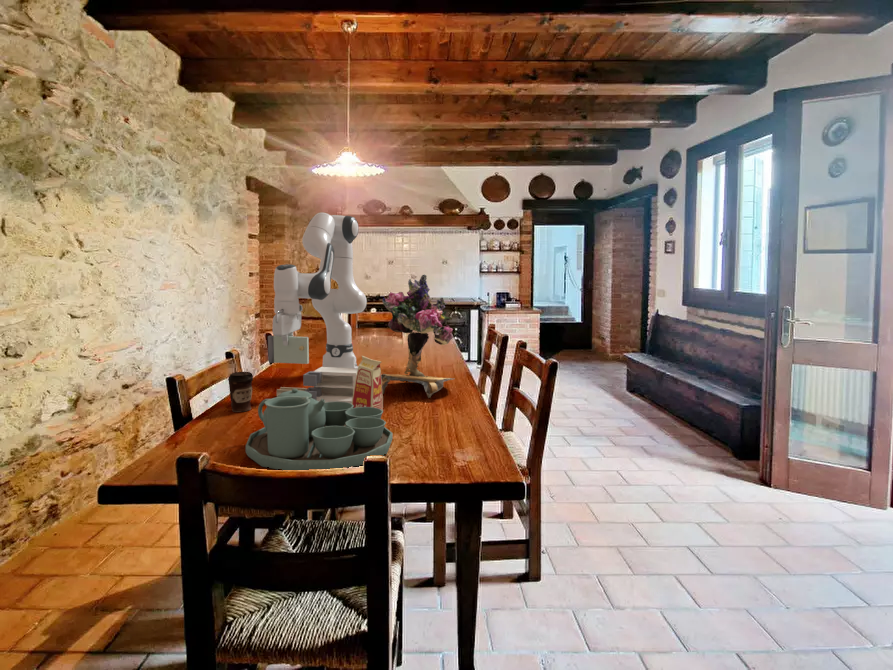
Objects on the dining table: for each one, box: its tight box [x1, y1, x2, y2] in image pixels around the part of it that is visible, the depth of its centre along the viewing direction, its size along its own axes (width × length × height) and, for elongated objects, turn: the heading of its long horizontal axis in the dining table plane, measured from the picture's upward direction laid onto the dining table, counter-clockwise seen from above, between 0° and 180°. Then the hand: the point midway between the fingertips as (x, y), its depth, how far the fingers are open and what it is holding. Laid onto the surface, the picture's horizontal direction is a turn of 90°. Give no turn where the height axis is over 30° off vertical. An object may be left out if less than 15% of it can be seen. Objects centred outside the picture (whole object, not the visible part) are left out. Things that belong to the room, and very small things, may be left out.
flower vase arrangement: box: [381, 274, 454, 399], centre depth 227 cm, size 33×44×45 cm
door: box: [267, 335, 310, 365], centre depth 211 cm, size 3×15×10 cm, turn 85°
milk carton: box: [352, 355, 384, 412], centre depth 192 cm, size 9×9×20 cm
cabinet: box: [302, 366, 358, 404], centre depth 209 cm, size 16×18×11 cm
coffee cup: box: [227, 371, 254, 413], centre depth 193 cm, size 9×8×13 cm
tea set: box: [245, 389, 394, 471], centre depth 157 cm, size 40×40×16 cm
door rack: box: [276, 386, 307, 397], centre depth 214 cm, size 5×10×3 cm, turn 85°
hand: (287, 344), depth 211 cm, fingers closed on door, 2 cm apart
